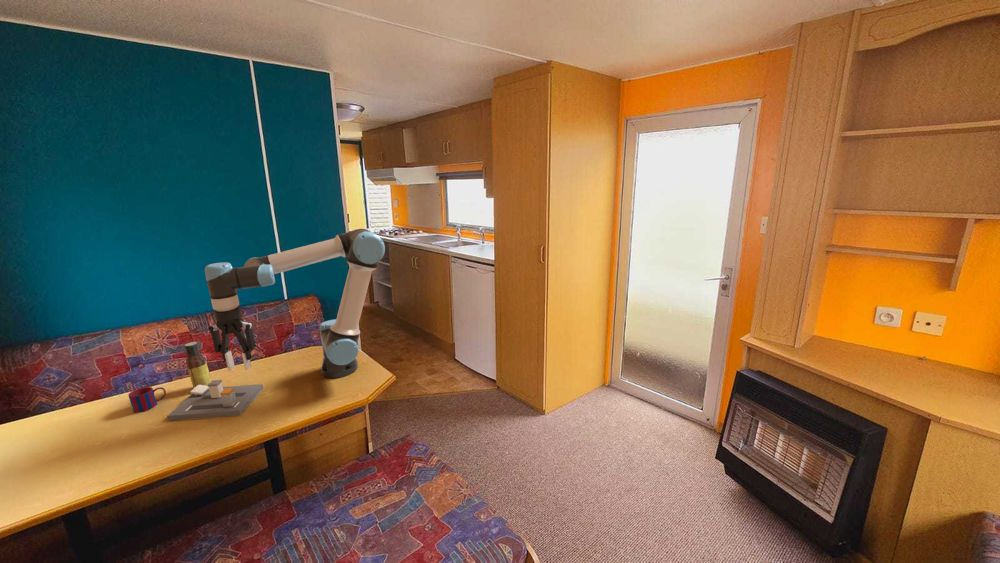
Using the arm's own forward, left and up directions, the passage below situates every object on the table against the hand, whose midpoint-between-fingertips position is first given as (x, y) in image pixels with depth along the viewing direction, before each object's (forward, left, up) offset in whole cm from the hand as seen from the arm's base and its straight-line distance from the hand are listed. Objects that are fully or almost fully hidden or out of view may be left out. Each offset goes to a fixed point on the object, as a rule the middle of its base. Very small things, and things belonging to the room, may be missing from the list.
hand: (239, 368), depth 139 cm
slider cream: (+14, -7, -14) cm, 21 cm away
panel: (+13, -5, -17) cm, 22 cm away
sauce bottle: (+26, -18, -17) cm, 36 cm away
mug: (+38, -7, -17) cm, 42 cm away
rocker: (+23, -10, -15) cm, 29 cm away
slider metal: (+6, 0, -14) cm, 16 cm away
